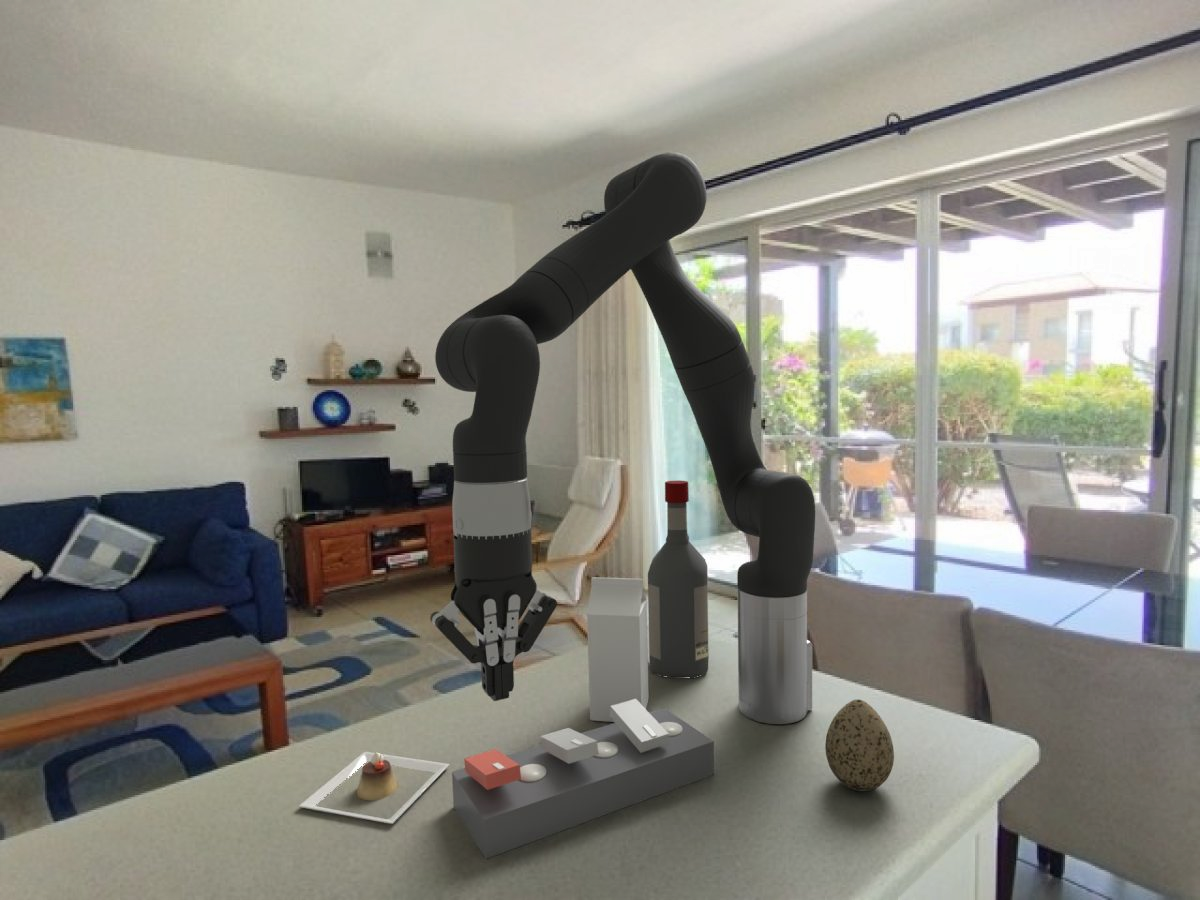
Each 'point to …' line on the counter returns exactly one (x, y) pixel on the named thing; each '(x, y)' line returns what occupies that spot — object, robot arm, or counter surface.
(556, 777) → the rocker switch box
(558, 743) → the middle rocker
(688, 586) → the liquor
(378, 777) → the dessert
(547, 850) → the counter surface
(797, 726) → the counter surface
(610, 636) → the milk carton
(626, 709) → the far rocker
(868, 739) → the decorative egg
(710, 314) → the robot arm
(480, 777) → the red rocker
